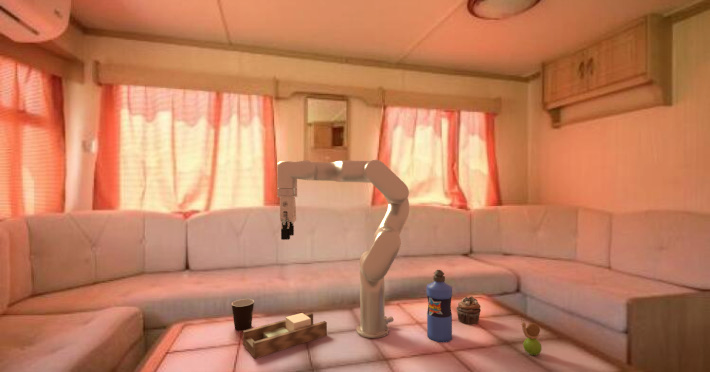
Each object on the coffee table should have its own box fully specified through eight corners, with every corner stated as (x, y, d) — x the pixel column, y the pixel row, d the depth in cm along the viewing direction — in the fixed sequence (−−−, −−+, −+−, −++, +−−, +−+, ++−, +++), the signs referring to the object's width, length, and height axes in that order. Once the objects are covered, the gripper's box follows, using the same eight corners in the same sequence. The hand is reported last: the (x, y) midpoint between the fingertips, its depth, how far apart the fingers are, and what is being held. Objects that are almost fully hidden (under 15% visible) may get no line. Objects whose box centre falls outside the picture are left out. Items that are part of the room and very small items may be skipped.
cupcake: (470, 315, 145) (470, 292, 145) (485, 324, 136) (485, 299, 136) (451, 318, 142) (451, 294, 142) (465, 327, 133) (465, 302, 133)
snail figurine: (517, 350, 114) (517, 315, 114) (535, 349, 114) (534, 315, 114) (526, 359, 108) (526, 322, 108) (545, 358, 109) (545, 321, 109)
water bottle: (435, 329, 131) (435, 266, 131) (457, 336, 125) (456, 270, 125) (422, 336, 125) (421, 270, 125) (444, 345, 118) (443, 275, 118)
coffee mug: (247, 332, 130) (247, 307, 129) (227, 330, 131) (227, 305, 131) (261, 320, 141) (261, 297, 141) (243, 319, 143) (242, 296, 143)
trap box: (311, 324, 136) (311, 312, 136) (326, 335, 127) (326, 322, 127) (243, 344, 120) (243, 331, 120) (254, 358, 110) (254, 343, 110)
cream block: (302, 322, 131) (302, 312, 131) (310, 329, 125) (310, 318, 125) (285, 327, 127) (285, 317, 127) (294, 334, 121) (293, 323, 121)
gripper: (293, 193, 120) (294, 241, 120) (299, 192, 137) (300, 234, 137) (272, 194, 120) (273, 241, 120) (281, 192, 137) (281, 234, 137)
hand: (287, 237), depth 128 cm, fingers open, 9 cm apart
